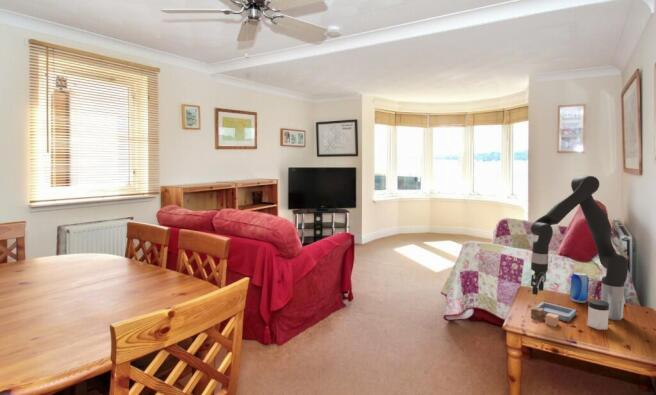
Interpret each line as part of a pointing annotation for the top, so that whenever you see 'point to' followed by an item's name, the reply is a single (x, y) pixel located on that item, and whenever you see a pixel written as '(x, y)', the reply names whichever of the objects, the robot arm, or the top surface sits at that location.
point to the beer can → (579, 287)
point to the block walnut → (537, 312)
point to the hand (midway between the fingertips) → (537, 292)
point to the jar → (598, 314)
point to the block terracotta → (552, 319)
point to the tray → (558, 311)
